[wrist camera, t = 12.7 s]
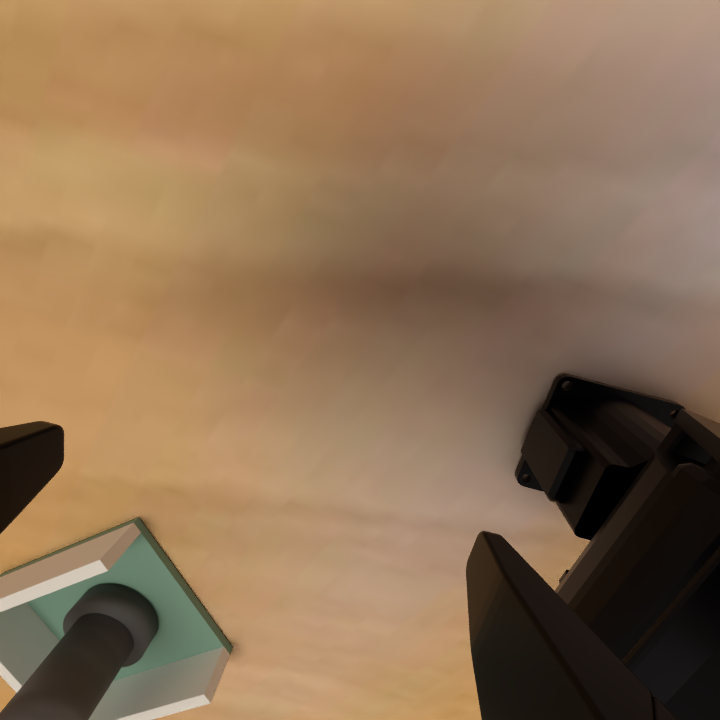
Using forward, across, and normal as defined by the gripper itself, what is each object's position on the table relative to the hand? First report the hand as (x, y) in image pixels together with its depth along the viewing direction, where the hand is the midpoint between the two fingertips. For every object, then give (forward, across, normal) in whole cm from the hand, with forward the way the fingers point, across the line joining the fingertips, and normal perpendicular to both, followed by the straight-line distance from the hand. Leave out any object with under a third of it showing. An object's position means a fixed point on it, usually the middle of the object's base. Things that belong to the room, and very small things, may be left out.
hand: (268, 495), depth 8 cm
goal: (+13, +11, +23) cm, 28 cm away
